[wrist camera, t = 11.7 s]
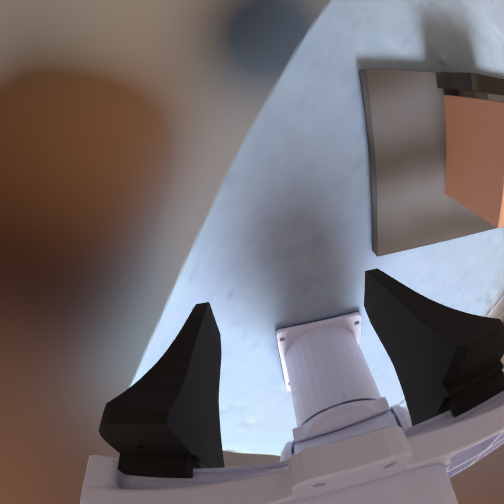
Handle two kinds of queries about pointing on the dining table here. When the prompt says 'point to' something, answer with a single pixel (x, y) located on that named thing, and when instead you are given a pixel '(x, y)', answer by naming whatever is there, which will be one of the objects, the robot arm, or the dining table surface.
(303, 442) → the robot arm
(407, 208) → the rail board
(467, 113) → the slotted block
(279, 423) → the dining table surface
